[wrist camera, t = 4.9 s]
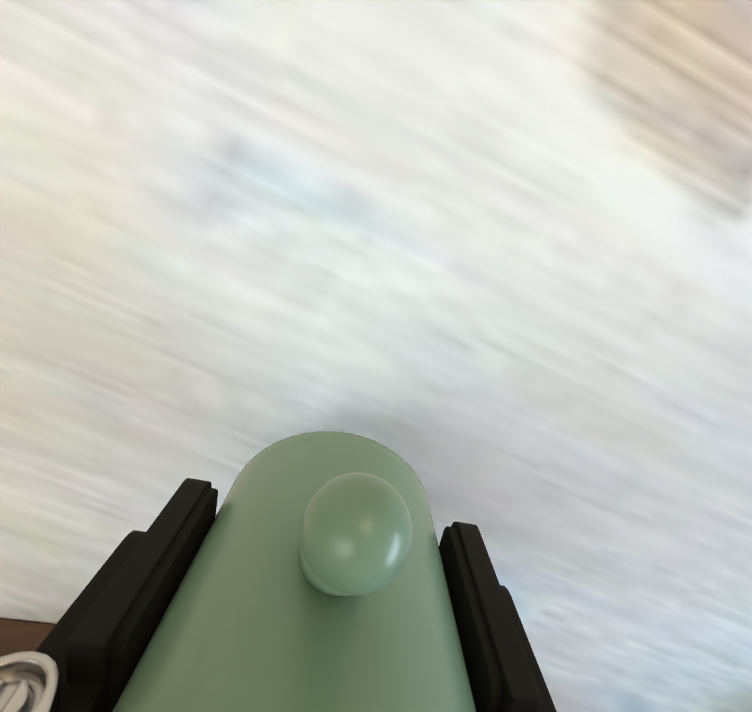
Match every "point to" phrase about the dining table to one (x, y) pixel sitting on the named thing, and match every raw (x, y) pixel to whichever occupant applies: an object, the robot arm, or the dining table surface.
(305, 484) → the kettle
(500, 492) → the dining table surface
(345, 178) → the dining table surface
